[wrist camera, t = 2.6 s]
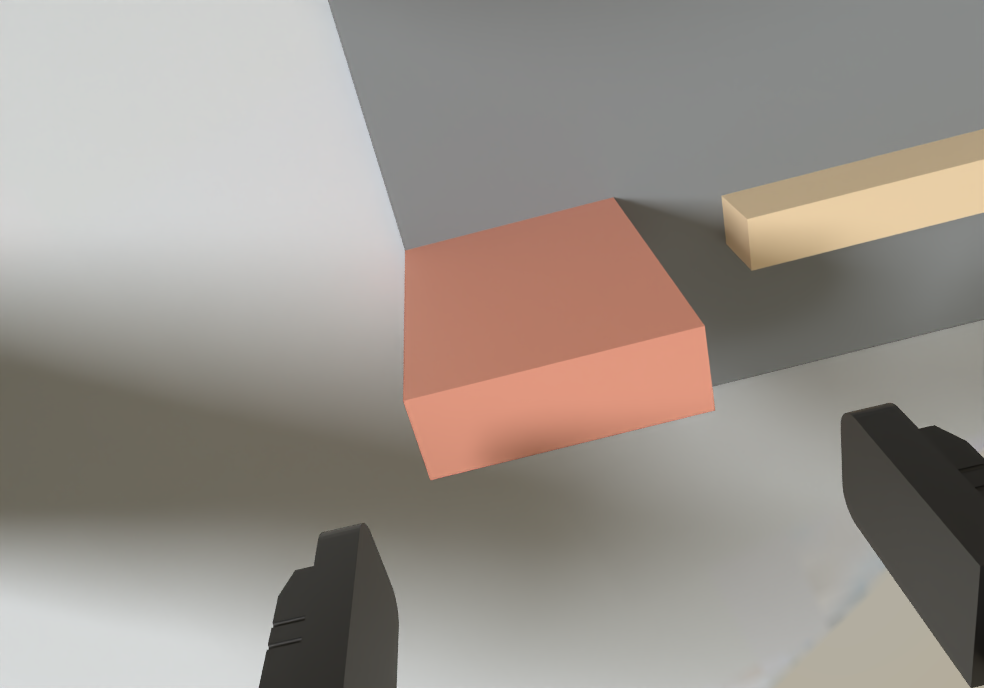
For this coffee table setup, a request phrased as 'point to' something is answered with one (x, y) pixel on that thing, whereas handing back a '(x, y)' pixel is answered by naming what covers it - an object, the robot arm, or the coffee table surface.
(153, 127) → the coffee table surface
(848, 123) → the mat
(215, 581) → the coffee table surface
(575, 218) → the box
